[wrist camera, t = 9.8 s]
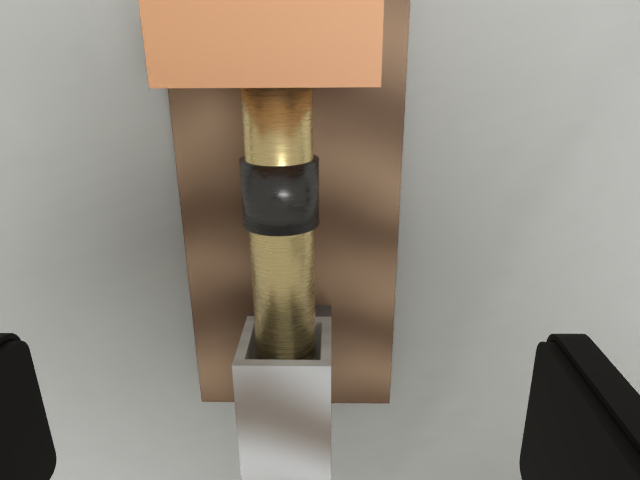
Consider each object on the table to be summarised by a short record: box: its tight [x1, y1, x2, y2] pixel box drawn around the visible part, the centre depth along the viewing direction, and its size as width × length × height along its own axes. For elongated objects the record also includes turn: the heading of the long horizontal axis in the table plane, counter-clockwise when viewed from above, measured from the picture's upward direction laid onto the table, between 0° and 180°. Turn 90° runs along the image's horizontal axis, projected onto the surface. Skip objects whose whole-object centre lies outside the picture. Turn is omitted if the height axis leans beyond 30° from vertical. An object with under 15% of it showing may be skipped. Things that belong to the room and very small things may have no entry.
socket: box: [138, 0, 384, 88], centre depth 21 cm, size 4×8×8 cm, turn 90°
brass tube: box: [239, 88, 319, 360], centre depth 23 cm, size 16×4×4 cm, turn 0°
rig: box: [168, 0, 410, 480], centre depth 26 cm, size 24×12×8 cm, turn 0°
